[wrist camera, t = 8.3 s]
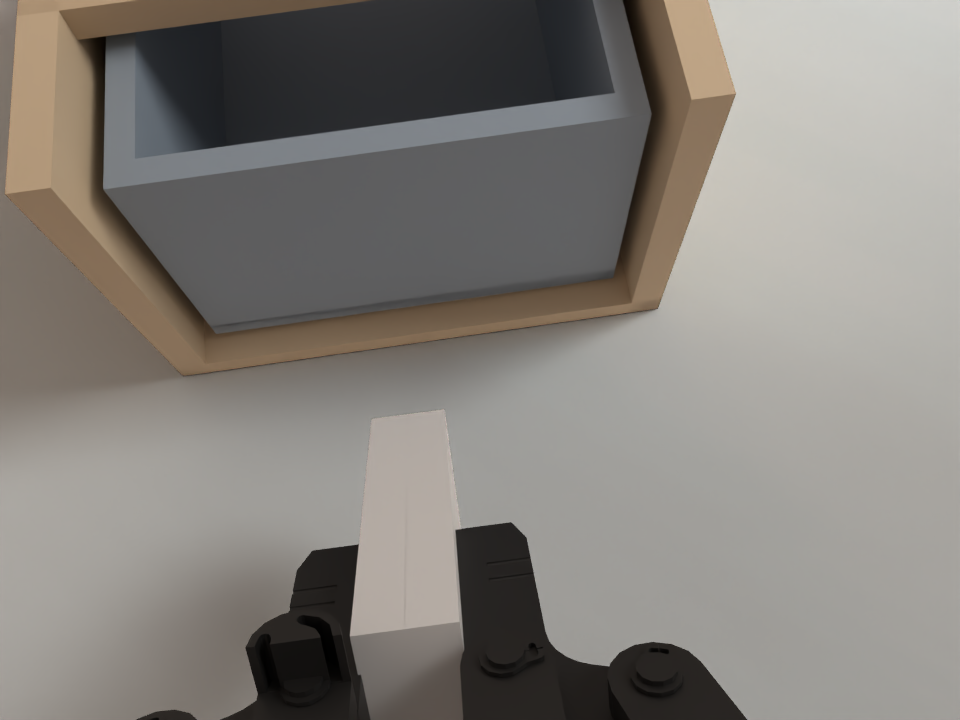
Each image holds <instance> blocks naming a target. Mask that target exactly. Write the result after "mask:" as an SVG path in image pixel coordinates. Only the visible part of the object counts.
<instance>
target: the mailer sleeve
mask: <svg viewBox="0 0 960 720" xmlns="http://www.w3.org/2000/svg"><path fill="white" fill-rule="evenodd" d="M364 1H372V0H18V5H17V20H16V35H15V50H14V65H13V80H12V95H11V110H10V125H9V141H8V156H7V171H6V186H5V195H6V196H7V197H8V198H9V199H10V200H11V201H12V202H13V203H14V204H15V205H16V206H17V207H18V208H19V209H20V210H21V211H22V212H23V213H24V214H25V215H26V216H27V217H28V218H29V219H30V220H31V221H32V222H33V223H34V224H35V225H36V226H37V227H38V228H39V229H40V230H41V231H42V232H43V233H44V235H45V236H46V237H47V238H48V239H49V240H50V241H51V242H52V243H53V244H54V245H55V246H56V247H57V248H58V249H59V250H60V251H61V252H62V253H63V254H64V255H65V256H66V257H67V258H68V259H69V260H70V261H71V262H72V263H73V264H74V265H75V266H76V267H77V268H78V269H79V270H80V271H81V272H82V273H83V274H84V275H85V276H86V277H87V278H88V279H89V280H90V282H91V283H92V284H93V285H94V286H95V287H96V288H97V289H98V290H99V291H100V292H101V293H102V294H103V295H104V296H105V297H106V298H107V299H108V300H109V301H110V302H111V303H112V304H113V305H114V306H115V307H116V308H117V309H118V310H119V311H120V312H121V313H122V314H123V315H124V316H125V317H126V318H127V319H128V320H129V321H130V322H131V323H132V324H133V325H134V326H135V327H136V328H137V330H138V331H139V332H140V333H141V334H142V335H143V336H144V337H145V338H146V339H147V340H148V341H149V342H150V343H151V344H152V345H153V346H154V347H155V348H156V349H157V350H158V351H159V352H160V353H161V354H162V355H163V356H164V357H165V358H166V359H167V360H168V361H169V362H170V363H171V364H172V365H173V366H174V367H175V368H176V369H177V370H178V371H179V372H180V373H181V374H182V375H183V376H187V375H194V374H201V373H208V372H215V371H222V370H229V369H236V368H243V367H250V366H257V365H264V364H271V363H278V362H285V361H292V360H299V359H306V358H314V357H321V356H328V355H335V354H342V353H349V352H356V351H363V350H370V349H377V348H384V347H391V346H398V345H405V344H412V343H419V342H426V341H433V340H440V339H447V338H454V337H461V336H468V335H475V334H482V333H489V332H496V331H503V330H510V329H517V328H524V327H531V326H538V325H545V324H552V323H559V322H567V321H574V320H581V319H588V318H595V317H602V316H609V315H616V314H623V313H630V312H637V311H644V310H651V309H658V307H659V304H660V301H661V298H662V296H663V293H664V290H665V287H666V285H667V282H668V279H669V276H670V274H671V271H672V268H673V265H674V263H675V260H676V257H677V254H678V252H679V249H680V246H681V243H682V241H683V238H684V235H685V232H686V230H687V227H688V224H689V221H690V219H691V216H692V213H693V210H694V208H695V205H696V202H697V199H698V197H699V194H700V191H701V188H702V186H703V183H704V180H705V177H706V175H707V172H708V169H709V166H710V164H711V161H712V158H713V155H714V153H715V150H716V147H717V144H718V142H719V139H720V136H721V133H722V131H723V128H724V125H725V122H726V120H727V117H728V114H729V111H730V109H731V106H732V103H733V100H734V98H735V95H736V92H735V89H734V86H733V82H732V79H731V76H730V72H729V69H728V66H727V62H726V59H725V56H724V52H723V49H722V46H721V43H720V39H719V36H718V33H717V29H716V26H715V23H714V19H713V16H712V13H711V9H710V6H709V3H708V0H623V4H624V8H625V12H626V16H627V20H628V24H629V27H630V31H631V35H632V39H633V43H634V47H635V51H636V55H637V59H638V63H639V66H640V70H641V74H642V78H643V82H644V86H645V90H646V94H647V98H648V102H649V105H650V109H651V113H652V115H651V119H650V123H649V128H648V132H647V136H646V140H645V145H644V149H643V153H642V157H641V162H640V166H639V170H638V174H637V179H636V183H635V187H634V191H633V196H632V200H631V204H630V208H629V213H628V217H627V221H626V225H625V230H624V234H623V238H622V242H621V247H620V251H619V255H618V259H617V264H616V268H615V272H614V276H613V278H609V279H602V280H595V281H588V282H581V283H574V284H567V285H560V286H553V287H545V288H538V289H531V290H524V291H517V292H510V293H503V294H496V295H489V296H482V297H475V298H468V299H461V300H454V301H446V302H439V303H432V304H425V305H418V306H411V307H404V308H397V309H390V310H383V311H376V312H369V313H362V314H355V315H347V316H340V317H333V318H326V319H319V320H312V321H305V322H298V323H291V324H284V325H277V326H270V327H263V328H256V329H248V330H241V331H234V332H227V333H220V334H216V333H215V332H214V330H213V329H212V328H211V327H210V325H209V324H208V323H207V321H206V320H205V319H204V318H203V316H202V315H201V314H200V313H199V311H198V310H197V309H196V307H195V306H194V305H193V304H192V302H191V301H190V300H189V298H188V297H187V296H186V295H185V293H184V292H183V291H182V289H181V288H180V287H179V286H178V284H177V283H176V282H175V281H174V279H173V278H172V277H171V275H170V274H169V273H168V272H167V270H166V269H165V268H164V266H163V265H162V264H161V263H160V261H159V260H158V259H157V258H156V256H155V255H154V254H153V252H152V251H151V250H150V249H149V247H148V246H147V245H146V243H145V242H144V241H143V240H142V238H141V237H140V236H139V234H138V233H137V232H136V231H135V229H134V228H133V227H132V226H131V224H130V223H129V222H128V220H127V219H126V218H125V217H124V215H123V214H122V213H121V211H120V210H119V209H118V208H117V206H116V205H115V204H114V203H113V201H112V200H111V199H110V197H109V196H108V195H107V194H106V192H105V191H104V190H103V177H104V124H105V71H106V36H110V35H118V34H125V33H133V32H140V31H148V30H155V29H163V28H170V27H178V26H185V25H192V24H200V23H207V22H215V21H222V20H230V19H237V18H245V17H252V16H260V15H267V14H275V13H282V12H289V11H297V10H304V9H312V8H319V7H327V6H334V5H342V4H349V3H357V2H364Z"/></svg>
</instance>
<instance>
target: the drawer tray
mask: <svg viewBox="0 0 960 720" xmlns="http://www.w3.org/2000/svg"><path fill="white" fill-rule="evenodd" d="M651 115H652V113H651V109H650V105H649V102H648V98H647V94H646V90H645V86H644V82H643V78H642V74H641V70H640V66H639V63H638V59H637V55H636V51H635V47H634V43H633V39H632V35H631V31H630V27H629V24H628V20H627V16H626V12H625V8H624V4H623V0H372V1H364V2H357V3H349V4H342V5H334V6H327V7H319V8H312V9H304V10H297V11H289V12H282V13H275V14H267V15H260V16H252V17H245V18H237V19H230V20H222V21H215V22H207V23H200V24H192V25H185V26H178V27H170V28H163V29H155V30H148V31H140V32H133V33H125V34H118V35H110V36H106V71H105V124H104V177H103V190H104V191H105V192H106V194H107V195H108V196H109V197H110V199H111V200H112V201H113V203H114V204H115V205H116V206H117V208H118V209H119V210H120V211H121V213H122V214H123V215H124V217H125V218H126V219H127V220H128V222H129V223H130V224H131V226H132V227H133V228H134V229H135V231H136V232H137V233H138V234H139V236H140V237H141V238H142V240H143V241H144V242H145V243H146V245H147V246H148V247H149V249H150V250H151V251H152V252H153V254H154V255H155V256H156V258H157V259H158V260H159V261H160V263H161V264H162V265H163V266H164V268H165V269H166V270H167V272H168V273H169V274H170V275H171V277H172V278H173V279H174V281H175V282H176V283H177V284H178V286H179V287H180V288H181V289H182V291H183V292H184V293H185V295H186V296H187V297H188V298H189V300H190V301H191V302H192V304H193V305H194V306H195V307H196V309H197V310H198V311H199V313H200V314H201V315H202V316H203V318H204V319H205V320H206V321H207V323H208V324H209V325H210V327H211V328H212V329H213V330H214V332H215V333H216V334H220V333H227V332H234V331H241V330H248V329H256V328H263V327H270V326H277V325H284V324H291V323H298V322H305V321H312V320H319V319H326V318H333V317H340V316H347V315H355V314H362V313H369V312H376V311H383V310H390V309H397V308H404V307H411V306H418V305H425V304H432V303H439V302H446V301H454V300H461V299H468V298H475V297H482V296H489V295H496V294H503V293H510V292H517V291H524V290H531V289H538V288H545V287H553V286H560V285H567V284H574V283H581V282H588V281H595V280H602V279H609V278H613V276H614V272H615V268H616V264H617V259H618V255H619V251H620V247H621V242H622V238H623V234H624V230H625V225H626V221H627V217H628V213H629V208H630V204H631V200H632V196H633V191H634V187H635V183H636V179H637V174H638V170H639V166H640V162H641V157H642V153H643V149H644V145H645V140H646V136H647V132H648V128H649V123H650V119H651Z"/></svg>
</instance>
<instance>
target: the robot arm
mask: <svg viewBox="0 0 960 720" xmlns="http://www.w3.org/2000/svg"><path fill="white" fill-rule="evenodd" d="M246 651H247V655H248V659H249V662H250V666H251V670H252V674H253V677H254V681H255V685H256V688H257V692H258V696H257V701H255V702H254V703H252V704H251V705H249V706H248V707H246V708H245V709H244V710H241V711H239V712H237V713H235V714H233V715H231V716H229V717H226V718H223V719H221V720H747V719H746V718H745V716H744V715H743V714H742V713H741V711H740V710H739V709H738V708H737V706H736V705H735V704H734V703H733V701H732V700H731V699H730V698H729V696H728V695H727V694H726V693H725V691H724V690H723V689H722V688H721V686H720V685H719V684H718V683H717V681H716V680H715V679H714V678H713V676H712V675H711V674H710V673H709V671H708V670H707V669H706V668H705V666H704V665H703V664H702V663H701V661H699V660H698V659H697V658H696V657H695V656H693V655H692V654H691V653H690V652H689V651H687V650H685V649H682V648H680V647H677V646H675V645H672V644H665V643H656V642H650V643H644V644H638V645H634V646H632V647H630V648H628V649H626V650H624V651H622V652H620V653H619V654H618V655H617V656H616V658H615V659H614V660H613V661H612V662H611V663H610V667H608V666H599V665H591V664H587V663H582V662H578V661H575V660H573V659H570V658H568V657H566V656H564V655H563V654H561V653H560V652H559V651H557V650H556V649H555V648H554V647H553V645H552V644H551V643H550V642H549V640H548V637H547V635H546V632H545V628H544V623H543V618H542V613H541V608H540V603H539V598H538V593H537V588H536V583H535V578H534V573H533V568H532V563H531V559H530V553H529V548H528V543H527V538H526V537H525V536H524V535H523V534H522V533H521V532H520V531H519V530H518V529H517V528H516V527H515V526H514V525H513V524H512V523H511V522H510V523H503V524H495V525H488V526H480V527H473V528H465V529H461V523H460V515H459V508H458V501H457V494H456V487H455V480H454V473H453V466H452V459H451V452H450V445H449V437H448V430H447V423H446V416H445V409H442V410H434V411H426V412H419V413H411V414H403V415H395V416H388V417H380V418H372V419H371V427H370V437H369V447H368V457H367V467H366V478H365V488H364V498H363V508H362V518H361V528H360V538H359V545H352V546H344V547H337V548H329V549H322V550H314V551H312V552H311V553H310V554H309V556H308V557H307V558H306V560H305V561H304V562H303V563H302V565H301V566H300V567H299V568H298V570H297V573H296V578H295V583H294V588H293V594H292V598H291V603H290V611H289V613H286V614H282V615H280V616H278V617H276V618H274V619H272V620H270V621H268V622H266V623H264V624H263V625H262V626H261V627H260V628H259V629H258V630H257V631H256V632H255V633H254V634H252V636H251V638H250V640H249V642H248V644H247V646H246ZM137 720H197V719H195V718H194V717H193V716H192V715H191V714H190V713H186V712H182V711H178V710H168V711H159V712H155V713H152V714H149V715H147V716H144V717H141V718H139V719H137Z"/></svg>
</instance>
